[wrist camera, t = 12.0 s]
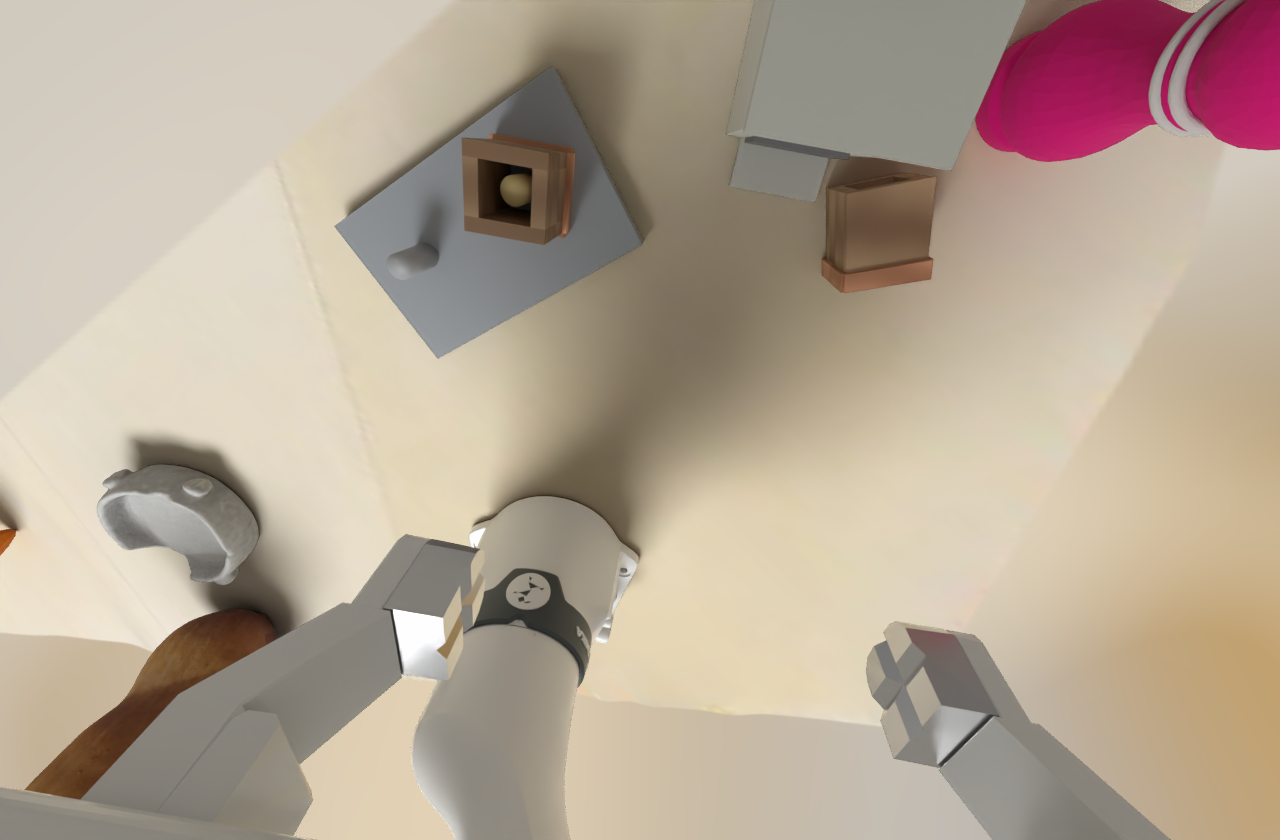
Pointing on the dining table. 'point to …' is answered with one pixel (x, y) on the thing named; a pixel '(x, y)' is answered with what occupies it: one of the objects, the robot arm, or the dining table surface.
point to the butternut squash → (155, 695)
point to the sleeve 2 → (879, 232)
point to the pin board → (483, 264)
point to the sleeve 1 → (549, 188)
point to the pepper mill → (1138, 78)
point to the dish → (180, 518)
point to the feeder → (860, 85)
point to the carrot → (6, 538)
